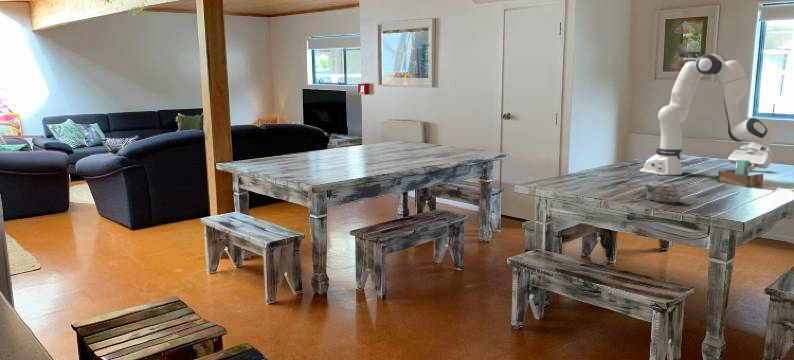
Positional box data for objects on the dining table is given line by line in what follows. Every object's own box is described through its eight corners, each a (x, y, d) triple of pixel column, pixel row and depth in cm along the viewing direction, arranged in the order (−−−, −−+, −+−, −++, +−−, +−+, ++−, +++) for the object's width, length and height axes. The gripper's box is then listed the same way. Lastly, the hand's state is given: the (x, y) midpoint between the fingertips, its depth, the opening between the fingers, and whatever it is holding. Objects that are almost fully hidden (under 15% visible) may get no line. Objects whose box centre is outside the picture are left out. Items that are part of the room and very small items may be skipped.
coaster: (755, 189, 310) (755, 187, 310) (759, 187, 317) (759, 185, 317) (773, 191, 305) (773, 189, 305) (777, 189, 312) (777, 187, 311)
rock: (639, 199, 287) (644, 178, 284) (646, 195, 293) (651, 175, 290) (673, 210, 278) (679, 189, 274) (680, 206, 284) (685, 185, 280)
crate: (731, 181, 332) (733, 169, 331) (762, 186, 318) (763, 174, 316) (717, 183, 326) (718, 171, 325) (747, 189, 312) (748, 176, 311)
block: (739, 182, 325) (742, 159, 323) (747, 183, 321) (749, 160, 319) (734, 183, 323) (737, 160, 321) (742, 184, 320) (744, 161, 317)
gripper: (733, 144, 331) (720, 164, 328) (772, 149, 313) (758, 169, 311) (738, 152, 334) (725, 171, 331) (776, 157, 316) (762, 177, 313)
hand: (741, 170), depth 321 cm, fingers closed on block, 4 cm apart
